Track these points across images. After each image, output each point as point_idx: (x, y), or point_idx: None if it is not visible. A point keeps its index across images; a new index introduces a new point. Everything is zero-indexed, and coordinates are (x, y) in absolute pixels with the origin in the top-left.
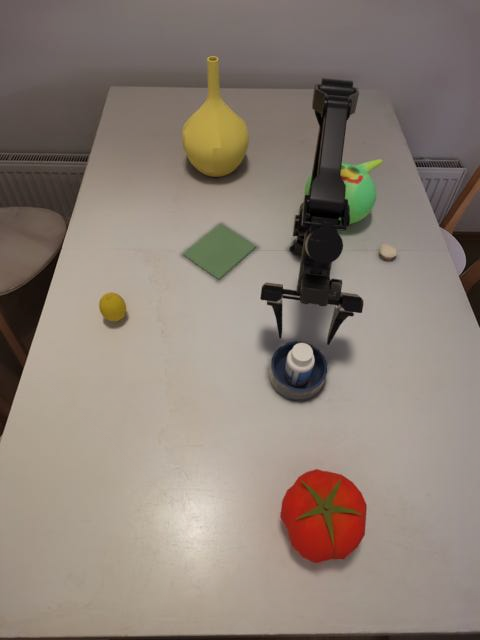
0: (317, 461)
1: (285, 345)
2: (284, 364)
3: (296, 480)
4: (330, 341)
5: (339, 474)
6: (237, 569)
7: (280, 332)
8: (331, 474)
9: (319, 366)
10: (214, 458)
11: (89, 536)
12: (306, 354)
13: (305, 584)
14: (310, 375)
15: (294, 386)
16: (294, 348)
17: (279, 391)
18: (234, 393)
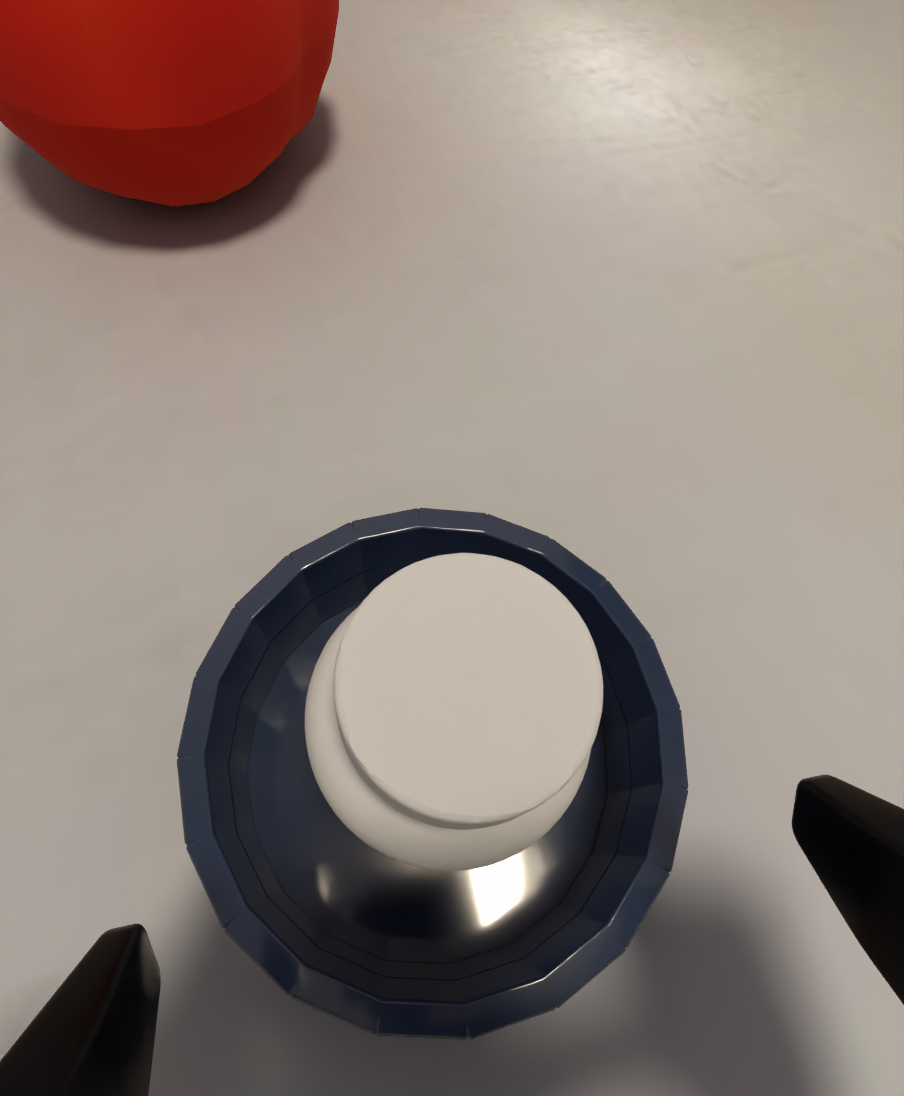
0: (213, 319)
1: (627, 905)
2: None
3: (287, 7)
4: (72, 982)
5: (48, 46)
6: (434, 13)
7: (889, 824)
8: (93, 19)
9: (269, 876)
10: (661, 236)
11: (873, 13)
12: (412, 654)
13: None
14: None
15: None
16: (580, 690)
17: None
18: (739, 513)
